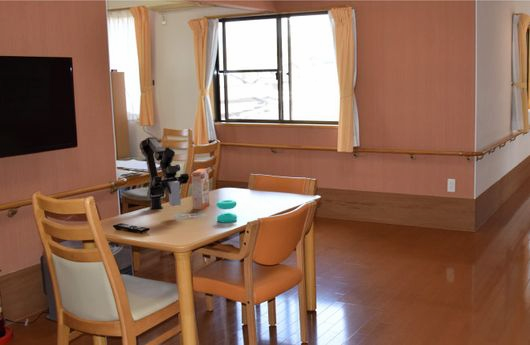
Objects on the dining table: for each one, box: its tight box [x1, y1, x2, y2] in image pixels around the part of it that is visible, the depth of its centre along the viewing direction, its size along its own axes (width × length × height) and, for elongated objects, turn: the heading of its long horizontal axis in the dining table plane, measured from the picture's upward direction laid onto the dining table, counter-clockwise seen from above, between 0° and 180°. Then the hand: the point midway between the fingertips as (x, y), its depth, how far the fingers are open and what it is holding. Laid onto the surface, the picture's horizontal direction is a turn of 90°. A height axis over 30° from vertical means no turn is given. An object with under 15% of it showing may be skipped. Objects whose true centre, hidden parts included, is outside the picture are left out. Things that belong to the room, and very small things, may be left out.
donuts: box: [216, 199, 238, 223], centre depth 321 cm, size 10×10×10 cm
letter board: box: [173, 211, 208, 220], centre depth 335 cm, size 12×16×1 cm
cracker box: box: [191, 168, 210, 210], centre depth 356 cm, size 14×6×21 cm, turn 168°
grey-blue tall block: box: [168, 181, 181, 207], centre depth 330 cm, size 4×4×12 cm
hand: (175, 193), depth 329 cm, fingers closed on grey-blue tall block, 4 cm apart
